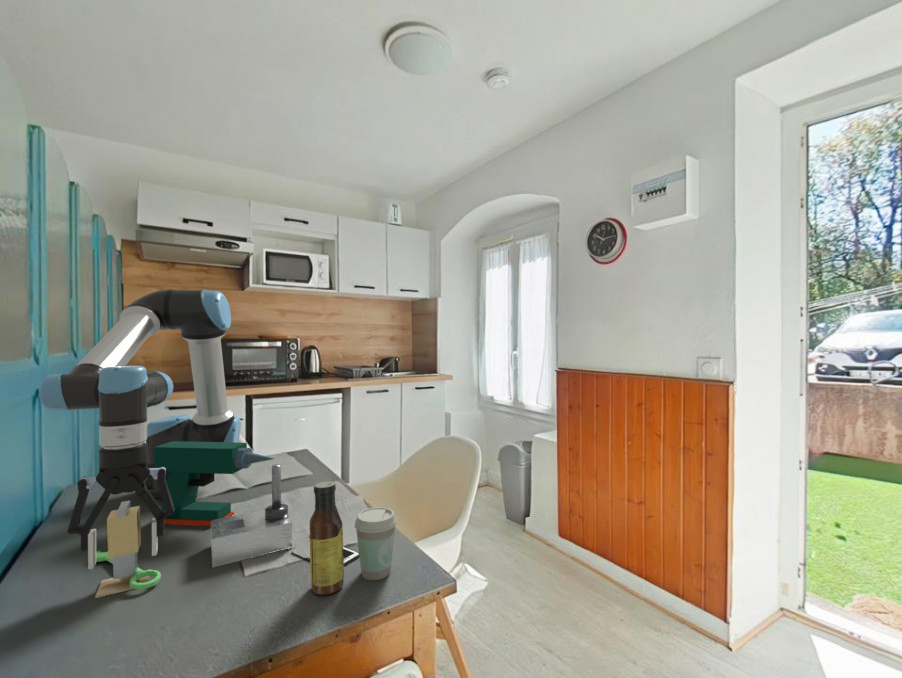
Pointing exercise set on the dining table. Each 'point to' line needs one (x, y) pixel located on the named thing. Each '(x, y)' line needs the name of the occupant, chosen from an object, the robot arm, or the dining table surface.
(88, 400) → the robot arm
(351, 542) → the dining table surface
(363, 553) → the coffee cup
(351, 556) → the cell phone
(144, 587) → the wrench
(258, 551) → the block
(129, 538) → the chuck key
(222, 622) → the dining table surface
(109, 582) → the key mat
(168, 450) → the power tool
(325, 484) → the sauce bottle
